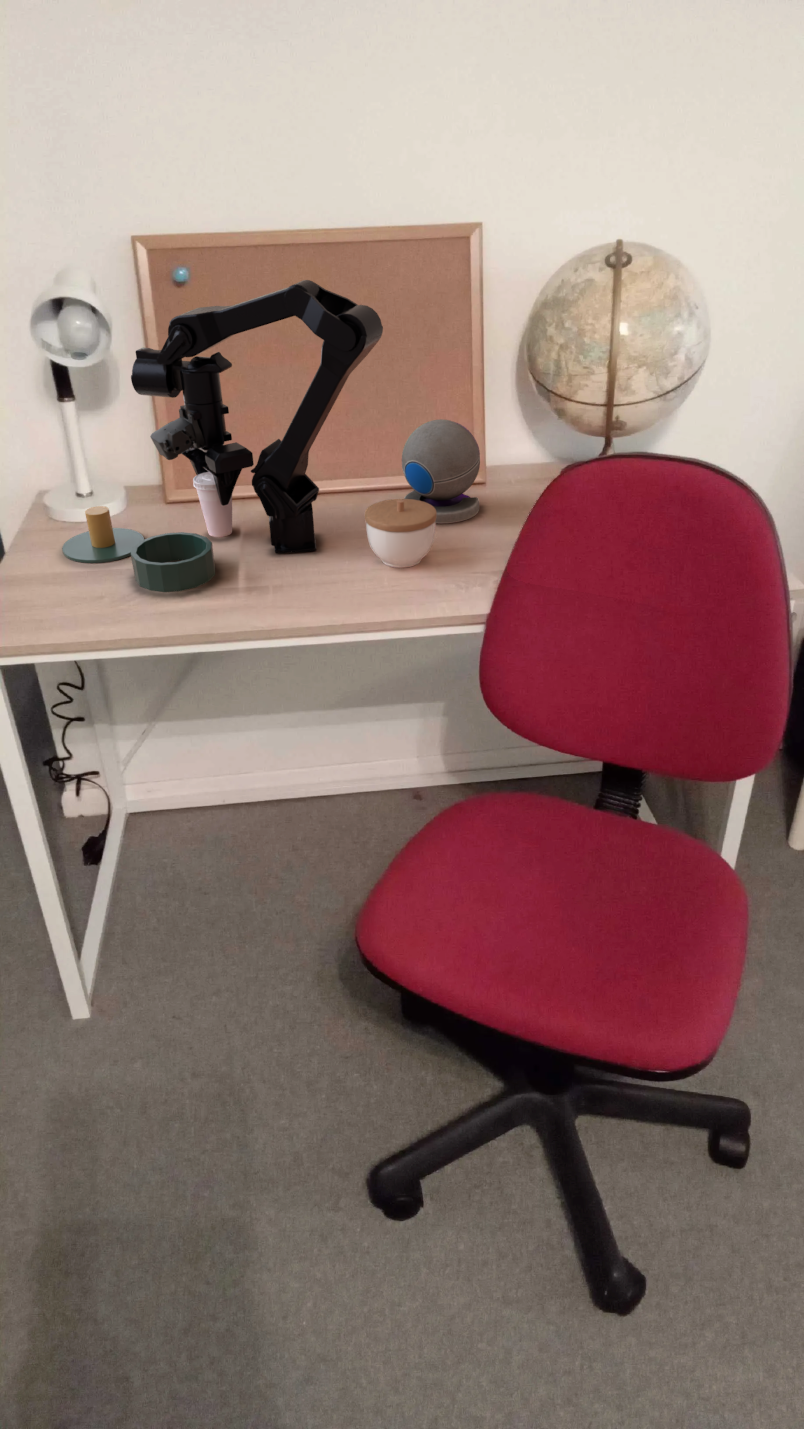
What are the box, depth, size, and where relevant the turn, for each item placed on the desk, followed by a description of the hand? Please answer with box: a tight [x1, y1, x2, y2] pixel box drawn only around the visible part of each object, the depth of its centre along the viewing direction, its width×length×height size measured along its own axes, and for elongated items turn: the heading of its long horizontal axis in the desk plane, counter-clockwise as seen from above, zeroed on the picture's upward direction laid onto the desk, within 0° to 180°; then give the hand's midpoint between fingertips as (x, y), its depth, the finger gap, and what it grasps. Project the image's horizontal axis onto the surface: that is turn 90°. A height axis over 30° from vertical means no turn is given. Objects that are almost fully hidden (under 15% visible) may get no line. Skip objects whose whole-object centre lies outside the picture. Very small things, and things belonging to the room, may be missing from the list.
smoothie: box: [192, 472, 233, 538], centre depth 157 cm, size 6×6×14 cm
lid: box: [61, 505, 145, 564], centre depth 155 cm, size 13×13×7 cm
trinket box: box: [364, 498, 437, 569], centre depth 149 cm, size 11×11×9 cm
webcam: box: [401, 418, 481, 524], centre depth 164 cm, size 13×13×15 cm
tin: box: [130, 531, 216, 593], centre depth 146 cm, size 12×12×5 cm
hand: (215, 498), depth 157 cm, fingers closed on smoothie, 6 cm apart
